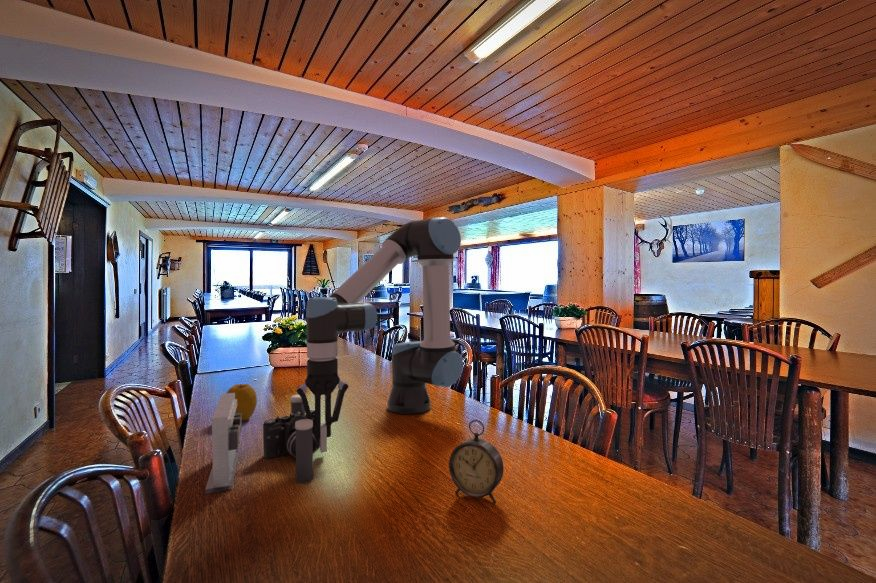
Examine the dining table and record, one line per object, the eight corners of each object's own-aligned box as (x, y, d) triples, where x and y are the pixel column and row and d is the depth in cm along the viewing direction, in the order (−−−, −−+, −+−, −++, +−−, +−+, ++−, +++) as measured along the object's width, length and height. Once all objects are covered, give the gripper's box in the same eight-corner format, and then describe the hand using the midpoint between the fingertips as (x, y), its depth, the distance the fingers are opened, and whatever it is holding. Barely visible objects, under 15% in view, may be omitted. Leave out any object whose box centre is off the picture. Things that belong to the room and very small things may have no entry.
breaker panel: (242, 452, 110) (241, 392, 109) (237, 488, 91) (235, 415, 90) (216, 456, 107) (215, 394, 107) (205, 494, 89) (203, 419, 88)
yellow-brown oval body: (216, 422, 132) (216, 385, 132) (241, 413, 141) (241, 378, 141) (240, 426, 129) (239, 388, 128) (264, 417, 138) (263, 381, 137)
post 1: (305, 440, 118) (304, 394, 117) (306, 445, 114) (305, 397, 114) (291, 442, 116) (290, 395, 116) (291, 447, 113) (290, 399, 112)
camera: (270, 470, 100) (270, 428, 99) (261, 454, 109) (261, 416, 108) (329, 456, 108) (329, 417, 107) (316, 442, 117) (316, 406, 116)
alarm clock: (447, 495, 88) (447, 419, 88) (458, 484, 93) (458, 412, 92) (497, 509, 83) (497, 428, 82) (506, 496, 88) (506, 420, 87)
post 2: (312, 474, 98) (312, 418, 97) (314, 481, 94) (313, 423, 94) (295, 477, 96) (294, 420, 96) (296, 484, 93) (295, 425, 92)
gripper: (345, 353, 112) (346, 440, 113) (294, 357, 108) (295, 448, 108) (350, 358, 105) (351, 451, 106) (296, 362, 101) (297, 459, 101)
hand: (323, 449), depth 107 cm, fingers closed
